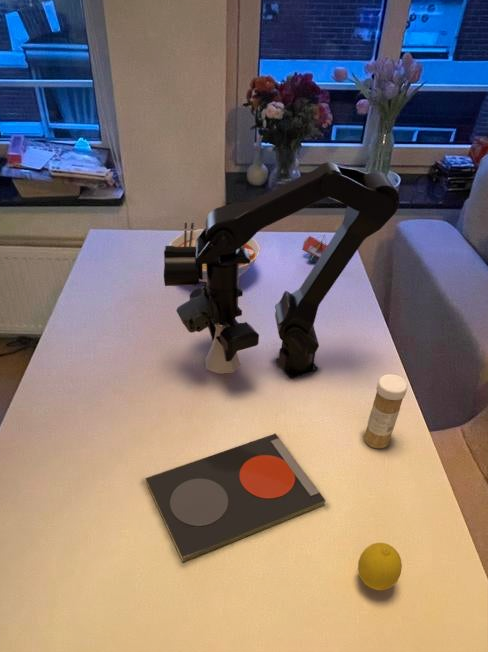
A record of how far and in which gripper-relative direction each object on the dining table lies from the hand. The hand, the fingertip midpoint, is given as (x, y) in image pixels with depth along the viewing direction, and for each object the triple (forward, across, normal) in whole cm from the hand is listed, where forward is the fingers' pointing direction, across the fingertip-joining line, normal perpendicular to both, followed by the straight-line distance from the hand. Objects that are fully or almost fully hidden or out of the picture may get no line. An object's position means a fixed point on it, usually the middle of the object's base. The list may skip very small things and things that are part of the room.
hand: (222, 353), depth 105 cm
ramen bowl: (+4, -35, +14) cm, 38 cm away
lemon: (+4, +52, -1) cm, 52 cm away
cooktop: (+4, +30, -12) cm, 33 cm away
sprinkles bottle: (+4, +30, +16) cm, 34 cm away
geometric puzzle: (+4, -31, +42) cm, 52 cm away
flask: (+3, 0, 0) cm, 3 cm away
